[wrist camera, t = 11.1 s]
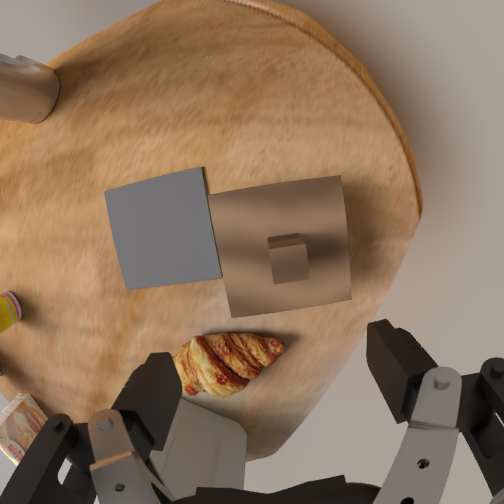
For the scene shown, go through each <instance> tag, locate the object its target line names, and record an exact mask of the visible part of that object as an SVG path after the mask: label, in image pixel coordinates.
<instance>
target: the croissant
mask: <svg viewBox="0 0 504 504" xmlns="http://www.w3.org/2000/svg"><path fill="white" fill-rule="evenodd" d="M285 350H286V349H285V345H284V343H283V342H281V340H280V339H276V338H267V337H265V338H262V337H260V336H257V335H255V334H251V333H250V334H249V333H240V334H234V333H220V334H215V335H203V336H195V337H193V338H192V340H191V341H189V342H188V343H186V344H184V345H183V346H182V347H181V351H180V352H179V353H177V354H176V355H175V356H174V357H172V359H173V361H174V364H175V366H176V369H177V371H178V374H179V376H180V379H181V381H182V387H183V390H182V391H184V392H185V393H187V394H188V395H190V396H191V395H193V396H195V395H196V394H197V393H198V392H200V391H202V392H208V393H210V394H212V395H213V396H221V397H226V396H229V395H232V394H234V393H237V392H239V391H241V390H243V389H244V388H245V387H246V386H247V384H248V383H249V382H250V380H252V379H253V378H255V377H257V376H259V374H260V372H261V371H262V368H263V367H264V366H269V365H271V364H272V363H274V362H275V360H276V359H277V358H278V357H279V356H280V355H281V353H283V352H284V351H285Z"/></svg>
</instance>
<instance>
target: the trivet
mask: <svg viewBox="0 0 504 504" xmlns="http://www.w3.org/2000/svg"><path fill="white" fill-rule="evenodd" d="M104 193H105V199H106V204H107V210H108V215H109V220H110V225H111V229H112V234H113V238H114V243H115V247H116V251H117V255H118V259H119V263H120V267H121V270H122V274H123V278H124V281H125V285H126V288H127V290H131V289H139V288H147V287H155V286H163V285H171V284H179V283H186V282H194V281H201V280H209V279H216V278H222V273H221V268H220V263H219V258H218V253H217V248H216V243H215V238H214V233H213V227H212V222H211V217H210V211H209V206H208V200H207V195H206V189H205V183H204V177H203V172H202V167H198V168H193V169H189V170H184V171H180V172H176V173H171V174H167V175H163V176H159V177H155V178H151V179H148V180H144V181H140V182H137V183H133V184H129V185H126V186H122V187H119V188H116V189H112V190H109V191H106V192H104Z"/></svg>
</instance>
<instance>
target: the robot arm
mask: <svg viewBox="0 0 504 504" xmlns="http://www.w3.org/2000/svg"><path fill="white" fill-rule="evenodd" d="M59 89H60V82H59V79H58V77H57V76H56V75H55V69H53V68H51V67H48V66H46V65H44V64H41V63H39V62H36V61H34V60H32V59H29V58H27V57H24V56H21V55H19V56H17V57H16V58H12V57H9V56H7V55H4V54H1V53H0V119H3V120H11V121H18V122H24V123H31V124H36V123H39V122H41V121H42V120H44V119H45V118H46V117H47V116H48V114H49V113H50V112H51V110H52V108H53V107H54V105H55V103H56V100H57V98H58V94H59ZM366 357H367V363H368V367H369V369H370V371H371V373H372V375H373V377H374V379H375V381H376V382H377V384H378V387H379V389H380V391H381V392H382V394H383V396H384V398H385V400H386V402H387V404H388V406H389V408H390V411H391V413H392V415H393V416H394V419H395V421H396V422H397V424H399V423H402V422H405V421H407V422H408V424H409V425H408V428H407V430H406V433H405V436H404V438H403V441H402V443H401V446H400V448H399V451H398V453H397V456H396V458H395V460H394V462H393V465H392V467H391V469H390V471H389V473H388V475H387V477H386V480H385V482H384V483H383V486H382V487H378V486H375V485H371V484H365V483H353V482H352V483H351V482H350V483H346V481H345V476H344V475H340V476H336V477H331V478H326V479H321V480H316V481H309V482H305V483H303V484H300V485H297V486H294V487H291V488H288V489H284V490H281V491H278V492H274V493H271V494H264V493H258V492H251V491H245V490H240V489H235V488H214V487H197V488H196V493H195V495H192V496H187V497H183V498H180V499H176V498H175V497H174V496H173V494H172V493H171V492H170V490H169V489H168V487H167V485H166V483H165V482H164V480H163V478H162V477H161V475H160V473H159V471H158V469H157V467H156V466H155V464H154V462H153V460H152V458H151V457H150V453H151V450H154V451H163V449H164V446H165V443H166V440H167V437H168V434H169V431H170V428H171V425H172V422H173V419H174V416H175V413H176V410H177V407H178V404H179V401H180V398H181V396H182V390H183V387H182V381H181V379H180V376H179V374H178V371H177V369H176V366H175V364H174V361H173V359H172V356H171V354H170V353H168V352H161V353H151V354H150V355H149V357H148V358H147V360H146V362H145V363H144V364H142V365H140V366H139V367H138V368H137V369H136V370H134V371H133V373H132V374H131V376H130V378H129V379H128V381H127V382H126V384H125V388H123V389H122V391H121V392H120V394H119V396H118V397H117V399H116V401H115V402H114V404H113V406H112V408H111V409H105V410H101V411H99V412H97V413H95V414H94V415H93V416H92V417H91V418H90V420H89V422H88V423H78V424H74V423H73V421H72V420H71V419H70V417H69V416H68V415H66V414H56V415H54V416H52V417H50V418H49V419H48V420H47V421H46V422H45V424H44V425H43V427H42V428H41V430H40V431H39V433H38V434H37V436H36V437H35V439H34V440H33V442H32V443H31V445H30V447H29V448H28V450H27V451H26V453H25V455H24V456H23V458H22V459H21V461H20V463H19V464H18V466H17V468H16V470H15V471H14V473H13V475H12V476H11V478H10V480H9V482H8V483H7V485H6V487H5V489H4V491H3V493H2V495H1V496H0V504H93V503H94V501H95V498H96V495H97V496H98V499H99V503H100V504H439V502H440V499H441V496H442V494H443V491H444V488H445V485H446V482H447V478H448V475H449V472H450V468H451V464H452V461H453V457H454V453H455V448H456V444H457V439H458V434H459V432H462V434H463V435H464V437H465V439H466V441H467V443H468V445H469V447H470V449H471V451H472V453H473V455H474V457H475V459H476V461H477V463H478V465H479V467H480V469H481V471H482V473H483V475H484V478H485V480H486V482H487V484H488V486H489V489H490V491H491V494H492V496H493V498H492V500H491V502H490V504H504V427H503V425H502V424H501V422H500V421H499V419H498V418H497V416H496V415H495V414H496V413H497V414H498V416H499V417H500V418H501V420H502V422H503V423H504V359H503V358H490V359H488V360H486V361H485V362H484V363H483V365H482V367H481V370H480V372H479V373H474V374H469V375H463V376H460V374H459V373H458V372H457V371H455V370H454V369H452V368H449V367H439V366H438V365H437V364H436V362H435V361H434V360H433V359H432V358H431V357H430V355H429V354H428V353H427V352H426V351H425V350H424V348H423V347H421V345H420V344H419V343H418V342H417V341H416V339H415V338H414V337H413V336H412V335H411V333H410V332H407V331H406V330H404V329H402V328H396V329H395V328H394V327H393V326H392V325H391V324H390V322H389V321H388V320H387V319H383V320H380V321H375V322H371V323H369V324H368V326H367V351H366ZM65 458H66V459H67V460H68V461H69V462H70V463H71V464H72V465H71V467H70V469H69V472H68V473H67V476H66V478H65V480H64V482H63V484H62V485H61V484H60V482H59V481H58V472H59V470H60V468H61V466H62V464H63V462H64V460H65Z"/></svg>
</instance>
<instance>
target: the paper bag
mask: <svg viewBox="0 0 504 504" xmlns="http://www.w3.org/2000/svg"><path fill="white" fill-rule="evenodd" d="M246 446H247V433H246V432H245V430H244V429H243V428H242V426H241V425H240V424H239V423H238V422H236V421H233V420H231V419H228V418H225V417H223V416H220V415H218V414H216V413H213V412H211V411H209V410H206V409H204V408H202V407H200V406H197V405H195V404H193V403H191V402H189V401H187V400H184V399H182V398H180V401H179V404H178V407H177V410H176V413H175V416H174V419H173V422H172V425H171V428H170V431H169V434H168V437H167V440H166V443H165V446H164V449H163V451H154V450H151V453H150V457H151V458H152V460H153V462H154V464H155V466H156V467H157V469H158V471H159V473H160V475H161V477H162V478H163V480H164V482H165V483H166V485H167V487H168V489H169V490H170V492H171V493H172V494H173V496H174V497H175V498H176V499H180V498H183V497H187V496H192V495H195V493H196V488H197V487H214V488H235V489H240V490H243V487H244V473H245V460H246Z"/></svg>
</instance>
